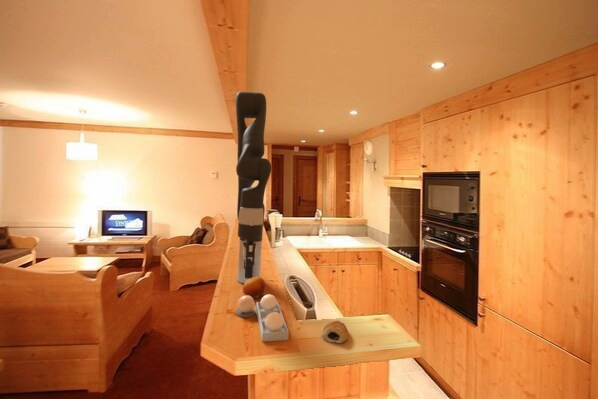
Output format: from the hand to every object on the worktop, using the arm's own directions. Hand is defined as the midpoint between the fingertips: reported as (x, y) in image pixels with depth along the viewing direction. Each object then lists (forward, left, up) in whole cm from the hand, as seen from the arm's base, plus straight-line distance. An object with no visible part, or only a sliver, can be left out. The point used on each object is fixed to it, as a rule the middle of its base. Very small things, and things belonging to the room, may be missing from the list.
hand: (247, 273), depth 90 cm
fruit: (-14, +4, -13) cm, 20 cm away
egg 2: (+13, +7, -9) cm, 18 cm away
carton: (+7, +7, -13) cm, 16 cm away
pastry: (+16, +24, -13) cm, 32 cm away
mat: (0, 0, -13) cm, 13 cm away
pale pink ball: (0, 0, -10) cm, 10 cm away
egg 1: (+1, +7, -9) cm, 12 cm away
